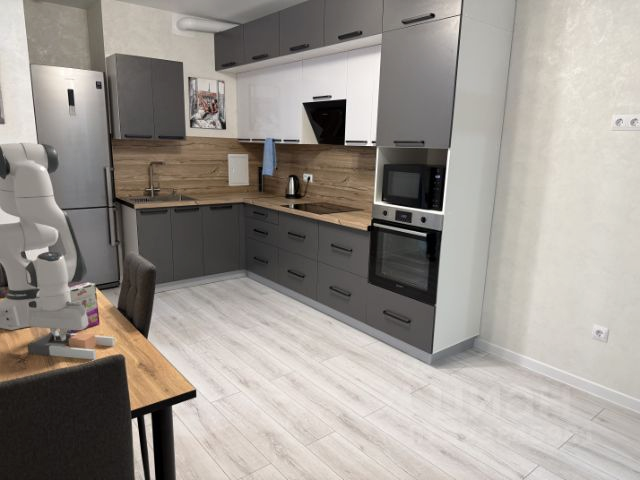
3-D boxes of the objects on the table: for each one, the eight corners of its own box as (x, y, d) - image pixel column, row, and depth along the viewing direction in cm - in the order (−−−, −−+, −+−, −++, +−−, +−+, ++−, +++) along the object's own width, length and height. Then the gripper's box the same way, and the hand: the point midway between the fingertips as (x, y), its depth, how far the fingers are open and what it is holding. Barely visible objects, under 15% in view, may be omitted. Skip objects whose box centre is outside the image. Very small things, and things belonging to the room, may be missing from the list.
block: (70, 353, 149) (68, 339, 148) (80, 346, 154) (78, 332, 153) (86, 354, 148) (85, 340, 147) (96, 347, 153) (94, 334, 152)
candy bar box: (92, 321, 176) (88, 281, 172) (100, 324, 173) (96, 283, 170) (63, 331, 166) (59, 288, 163) (71, 334, 164) (66, 291, 160)
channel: (49, 355, 147) (48, 346, 146) (73, 341, 158) (72, 333, 157) (94, 359, 145) (93, 350, 144) (114, 345, 155) (114, 337, 155)
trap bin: (28, 353, 148) (27, 344, 148) (52, 339, 159) (52, 331, 158) (49, 355, 147) (48, 346, 146) (73, 341, 158) (72, 333, 157)
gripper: (90, 299, 150) (94, 338, 153) (36, 296, 153) (41, 334, 156) (77, 305, 144) (81, 345, 147) (21, 302, 147) (26, 341, 150)
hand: (60, 339), depth 152 cm, fingers closed
